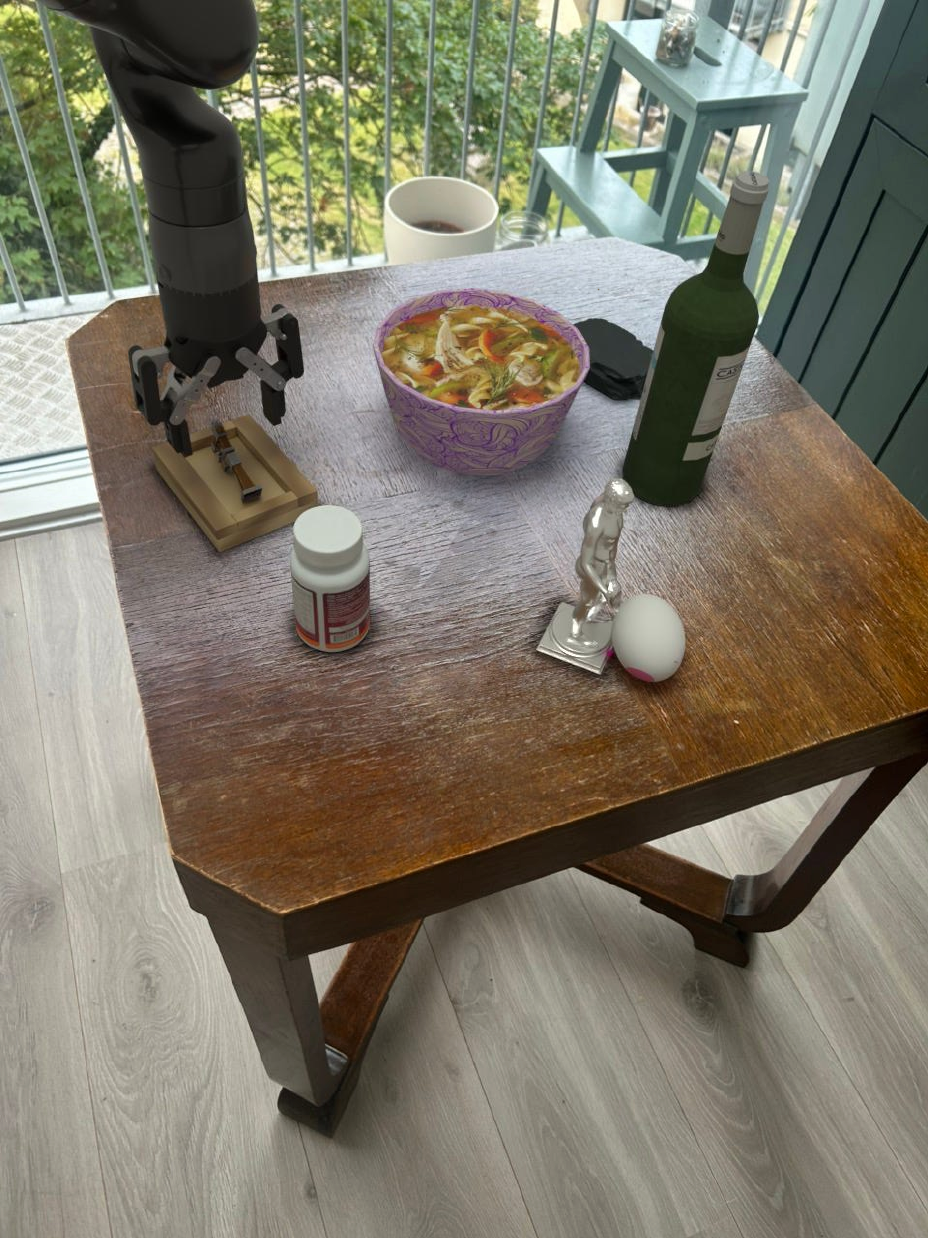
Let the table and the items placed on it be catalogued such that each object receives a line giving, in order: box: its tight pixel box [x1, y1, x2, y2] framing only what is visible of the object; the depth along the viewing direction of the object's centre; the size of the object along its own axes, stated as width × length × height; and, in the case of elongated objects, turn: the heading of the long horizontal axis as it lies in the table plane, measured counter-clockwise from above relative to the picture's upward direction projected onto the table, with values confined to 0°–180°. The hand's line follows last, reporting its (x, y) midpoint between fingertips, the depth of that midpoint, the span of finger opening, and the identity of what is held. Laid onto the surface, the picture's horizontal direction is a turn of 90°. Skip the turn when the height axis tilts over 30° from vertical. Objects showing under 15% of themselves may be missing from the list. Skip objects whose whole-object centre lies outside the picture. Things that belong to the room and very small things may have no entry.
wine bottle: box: [621, 170, 770, 507], centre depth 83 cm, size 8×8×30 cm
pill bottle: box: [289, 504, 371, 653], centre depth 75 cm, size 6×6×11 cm
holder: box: [151, 413, 319, 553], centre depth 88 cm, size 10×13×3 cm
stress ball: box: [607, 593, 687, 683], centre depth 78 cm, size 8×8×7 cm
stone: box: [572, 317, 654, 401], centre depth 105 cm, size 8×12×3 cm
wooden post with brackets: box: [210, 418, 262, 503], centre depth 87 cm, size 2×8×4 cm, turn 34°
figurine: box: [535, 477, 636, 676], centre depth 73 cm, size 8×7×18 cm
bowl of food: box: [372, 287, 590, 477], centre depth 92 cm, size 20×20×12 cm
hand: (229, 435), depth 84 cm, fingers open, 8 cm apart
